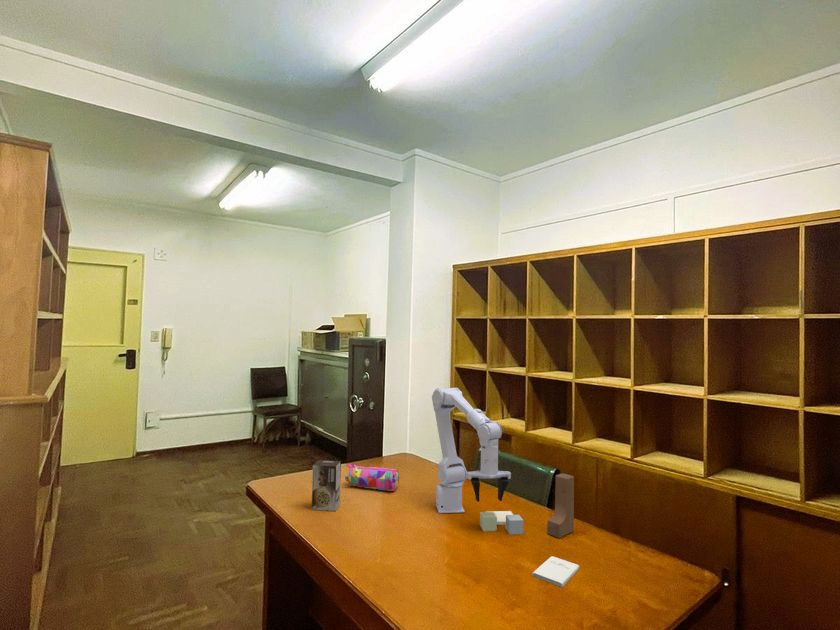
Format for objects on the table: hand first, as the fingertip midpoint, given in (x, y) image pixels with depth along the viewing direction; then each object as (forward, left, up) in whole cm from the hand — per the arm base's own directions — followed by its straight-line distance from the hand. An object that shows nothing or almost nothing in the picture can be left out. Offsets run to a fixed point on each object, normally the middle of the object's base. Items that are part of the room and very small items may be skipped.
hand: (488, 500), depth 149 cm
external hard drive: (+11, -29, -10) cm, 33 cm away
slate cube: (+8, -3, -9) cm, 12 cm away
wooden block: (+23, -5, -9) cm, 25 cm away
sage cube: (0, 0, -9) cm, 9 cm away
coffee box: (-55, +21, -9) cm, 60 cm away
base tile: (+7, +7, -10) cm, 14 cm away
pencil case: (-38, +41, -9) cm, 57 cm away
